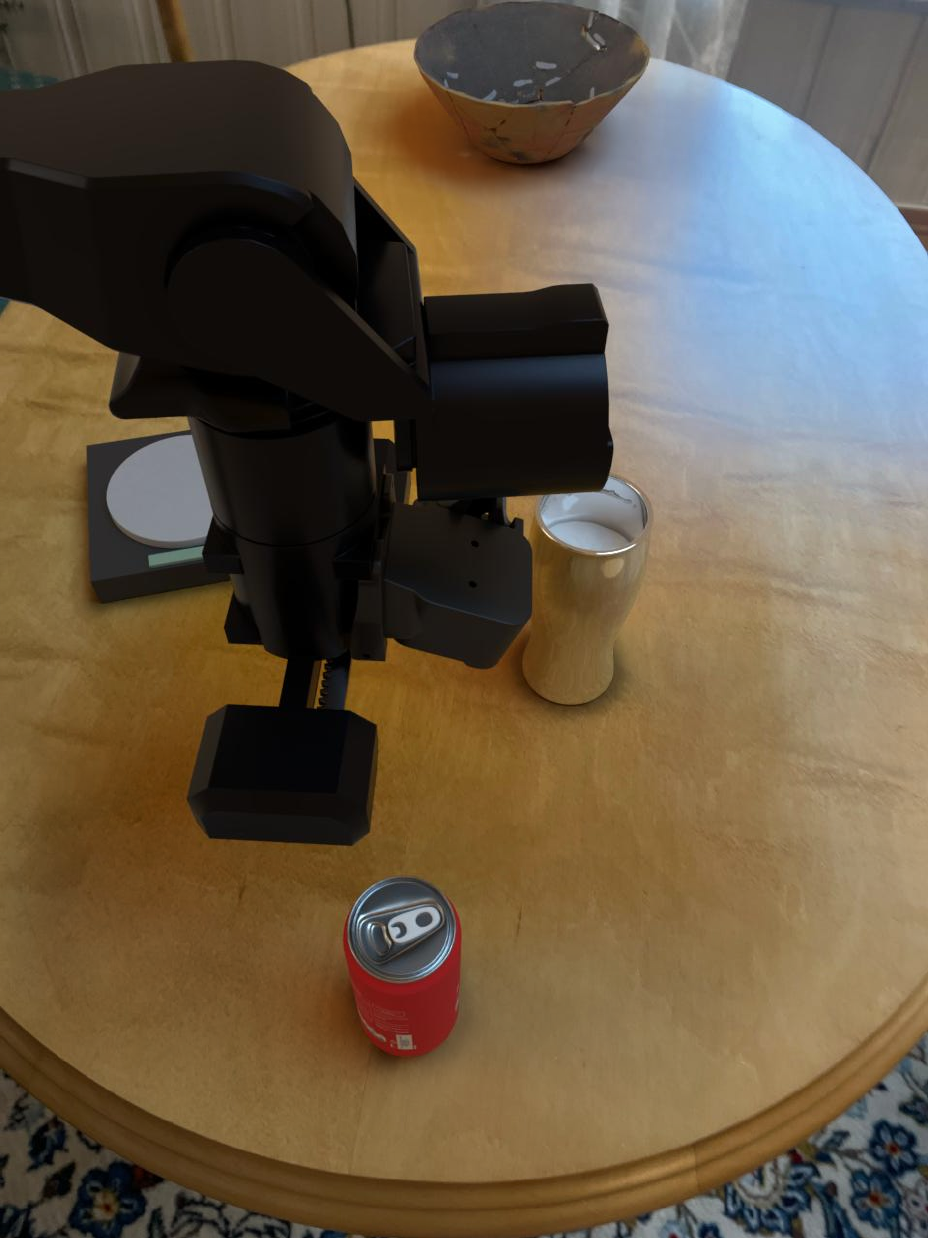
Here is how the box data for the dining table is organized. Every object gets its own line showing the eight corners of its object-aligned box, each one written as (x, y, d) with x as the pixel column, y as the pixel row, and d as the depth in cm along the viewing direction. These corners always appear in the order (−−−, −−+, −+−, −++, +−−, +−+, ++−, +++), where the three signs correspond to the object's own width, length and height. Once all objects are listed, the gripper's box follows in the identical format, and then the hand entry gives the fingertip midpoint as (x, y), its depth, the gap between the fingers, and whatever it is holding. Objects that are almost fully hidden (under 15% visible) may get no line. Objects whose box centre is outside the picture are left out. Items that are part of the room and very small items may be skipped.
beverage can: (346, 983, 52) (324, 896, 43) (436, 946, 53) (434, 853, 44) (380, 1079, 49) (365, 1008, 40) (474, 1037, 50) (481, 959, 41)
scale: (99, 603, 68) (86, 573, 65) (94, 468, 76) (82, 437, 73) (299, 567, 70) (294, 537, 67) (273, 440, 78) (268, 408, 76)
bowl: (526, 72, 120) (532, -19, 112) (681, 146, 109) (699, 50, 101) (368, 136, 110) (362, 40, 102) (522, 225, 99) (529, 125, 91)
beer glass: (567, 730, 62) (595, 578, 50) (493, 663, 65) (504, 504, 53) (641, 672, 65) (684, 514, 53) (567, 610, 68) (592, 448, 56)
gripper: (525, 731, 27) (500, 930, 40) (530, 330, 39) (510, 582, 51) (134, 711, 28) (230, 916, 40) (253, 319, 39) (299, 572, 51)
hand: (334, 725), depth 46 cm, fingers open, 9 cm apart
